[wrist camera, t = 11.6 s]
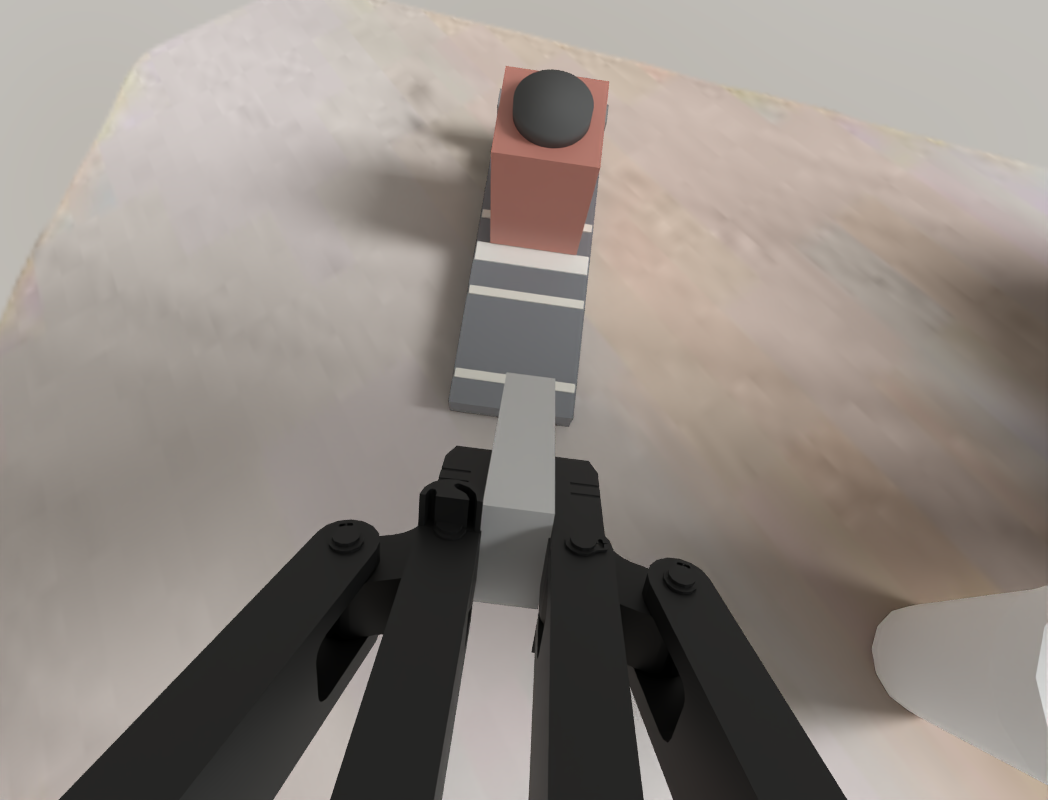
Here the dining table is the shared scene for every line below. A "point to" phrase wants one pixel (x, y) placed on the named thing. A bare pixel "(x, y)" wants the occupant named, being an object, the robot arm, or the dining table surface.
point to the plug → (545, 158)
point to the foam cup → (974, 671)
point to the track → (521, 318)
